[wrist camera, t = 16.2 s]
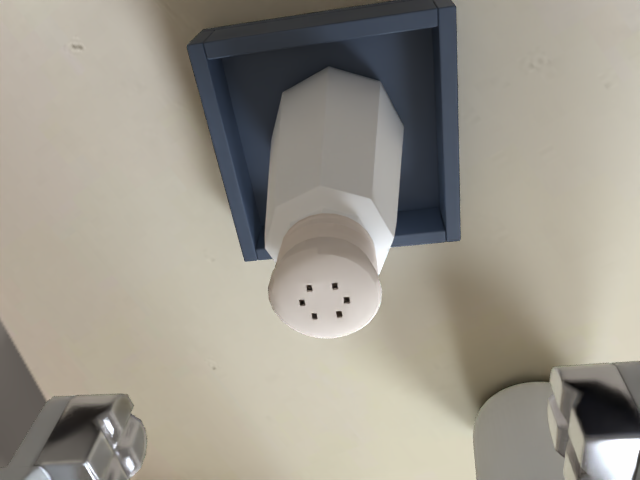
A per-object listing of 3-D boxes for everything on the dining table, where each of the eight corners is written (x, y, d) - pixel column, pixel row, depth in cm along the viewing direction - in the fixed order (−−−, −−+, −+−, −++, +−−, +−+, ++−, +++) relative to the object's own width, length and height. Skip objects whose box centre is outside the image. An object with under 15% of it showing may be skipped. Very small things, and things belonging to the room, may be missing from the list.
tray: (445, -8, 20) (456, 5, 18) (452, 211, 25) (460, 241, 23) (202, 29, 21) (185, 45, 19) (253, 231, 26) (244, 262, 24)
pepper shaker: (399, 56, 21) (435, 192, 12) (406, 184, 24) (439, 375, 15) (259, 72, 22) (188, 214, 12) (282, 196, 25) (238, 385, 15)
